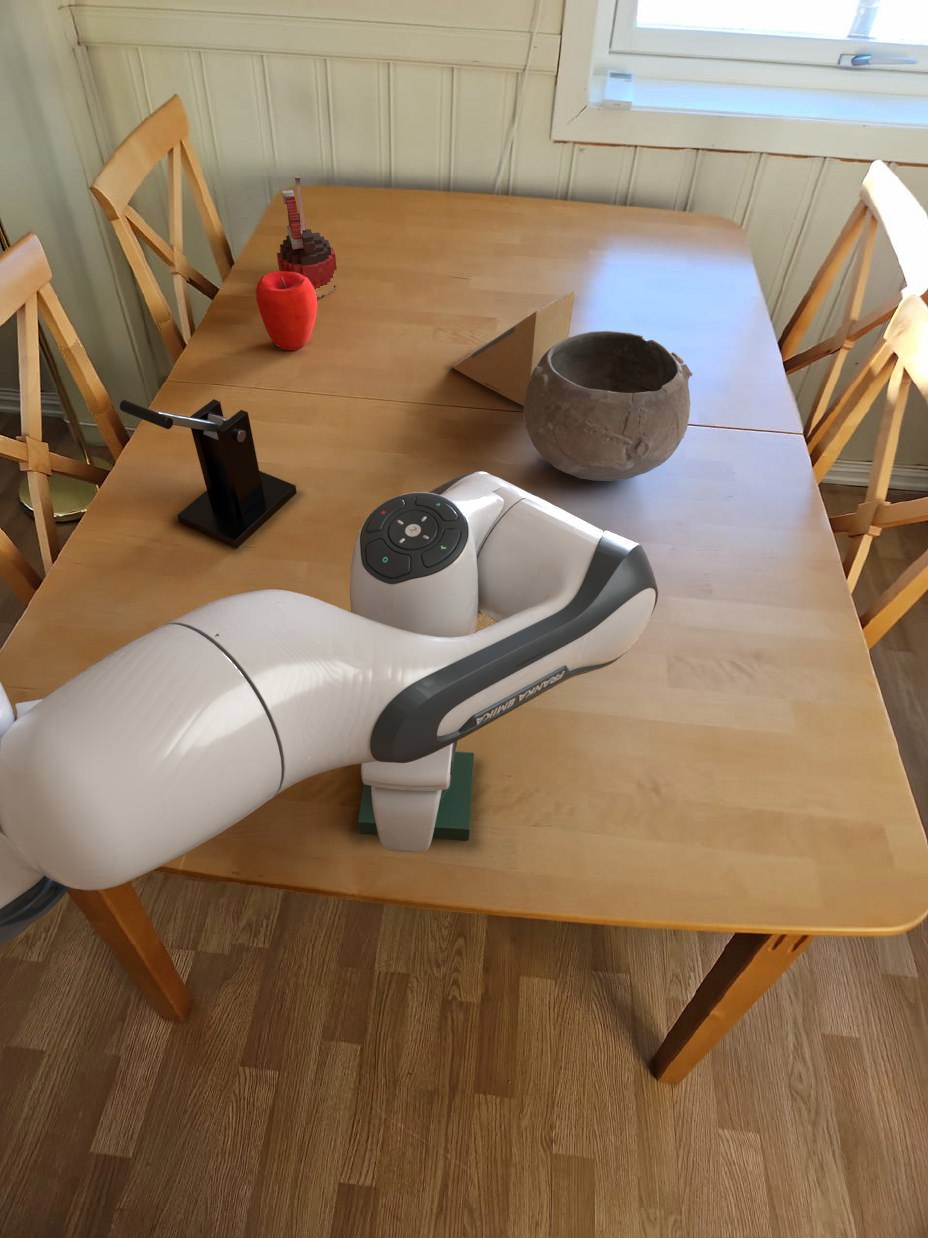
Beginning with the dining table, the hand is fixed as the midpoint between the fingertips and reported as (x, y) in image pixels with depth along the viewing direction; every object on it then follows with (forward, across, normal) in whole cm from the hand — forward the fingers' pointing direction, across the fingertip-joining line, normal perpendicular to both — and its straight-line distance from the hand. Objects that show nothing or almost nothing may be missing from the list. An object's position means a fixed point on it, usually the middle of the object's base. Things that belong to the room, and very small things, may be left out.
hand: (418, 774), depth 74 cm
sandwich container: (+4, -73, +6) cm, 73 cm away
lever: (-10, -34, -29) cm, 46 cm away
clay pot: (+5, -54, +19) cm, 57 cm away
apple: (+4, -78, -27) cm, 83 cm away
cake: (+4, -96, -28) cm, 100 cm away
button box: (+4, 0, 0) cm, 4 cm away
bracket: (+4, -39, -26) cm, 47 cm away
